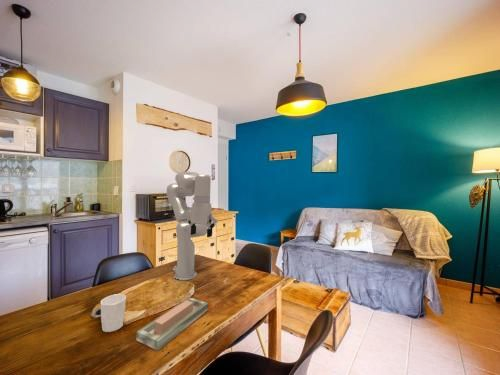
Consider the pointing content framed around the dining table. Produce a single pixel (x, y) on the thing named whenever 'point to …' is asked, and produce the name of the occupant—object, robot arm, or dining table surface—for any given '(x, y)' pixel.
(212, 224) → the robot arm
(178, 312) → the clay strip
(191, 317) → the glass channel tray
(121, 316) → the white cup
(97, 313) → the pastry
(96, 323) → the dining table surface
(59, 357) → the dining table surface
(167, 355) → the dining table surface
